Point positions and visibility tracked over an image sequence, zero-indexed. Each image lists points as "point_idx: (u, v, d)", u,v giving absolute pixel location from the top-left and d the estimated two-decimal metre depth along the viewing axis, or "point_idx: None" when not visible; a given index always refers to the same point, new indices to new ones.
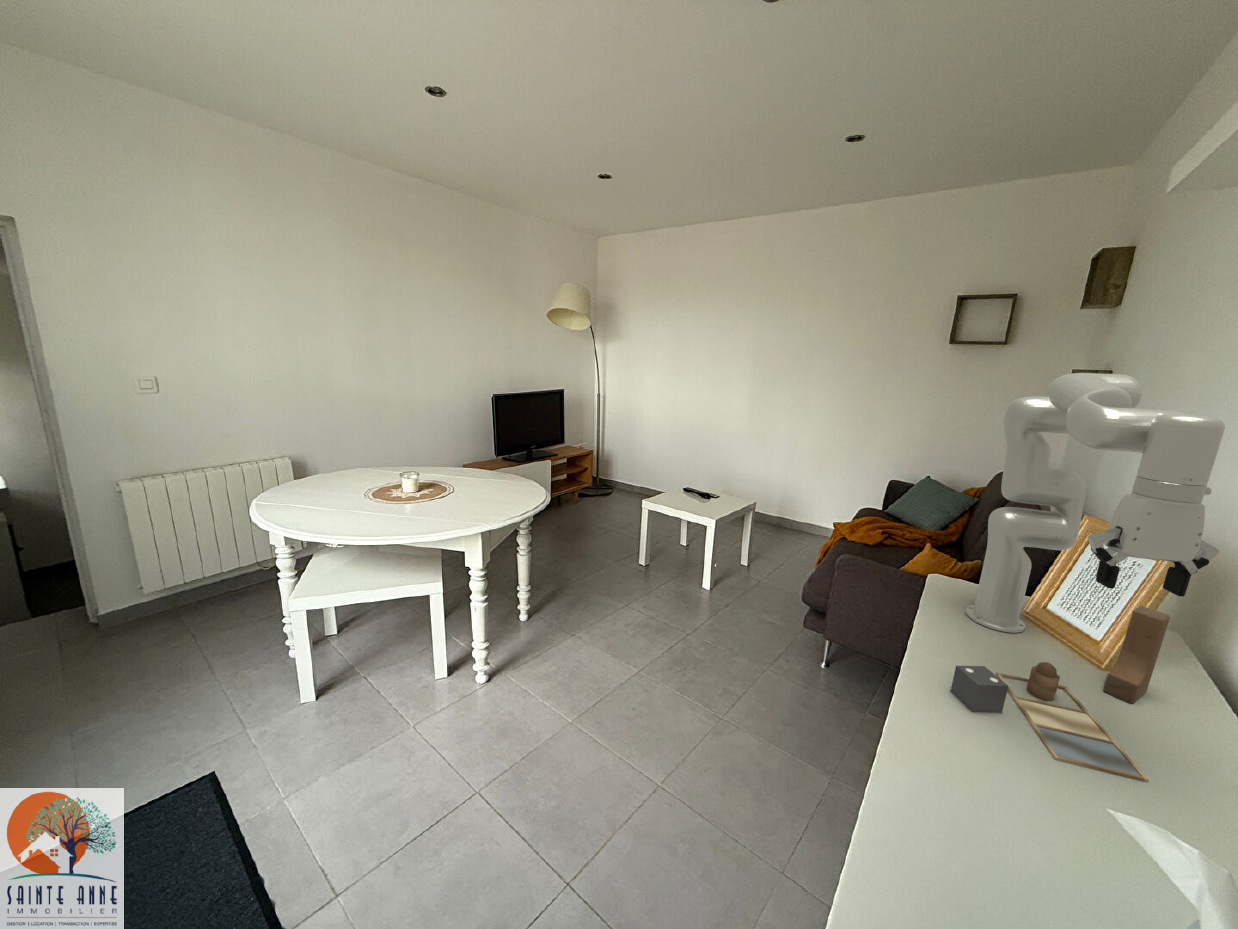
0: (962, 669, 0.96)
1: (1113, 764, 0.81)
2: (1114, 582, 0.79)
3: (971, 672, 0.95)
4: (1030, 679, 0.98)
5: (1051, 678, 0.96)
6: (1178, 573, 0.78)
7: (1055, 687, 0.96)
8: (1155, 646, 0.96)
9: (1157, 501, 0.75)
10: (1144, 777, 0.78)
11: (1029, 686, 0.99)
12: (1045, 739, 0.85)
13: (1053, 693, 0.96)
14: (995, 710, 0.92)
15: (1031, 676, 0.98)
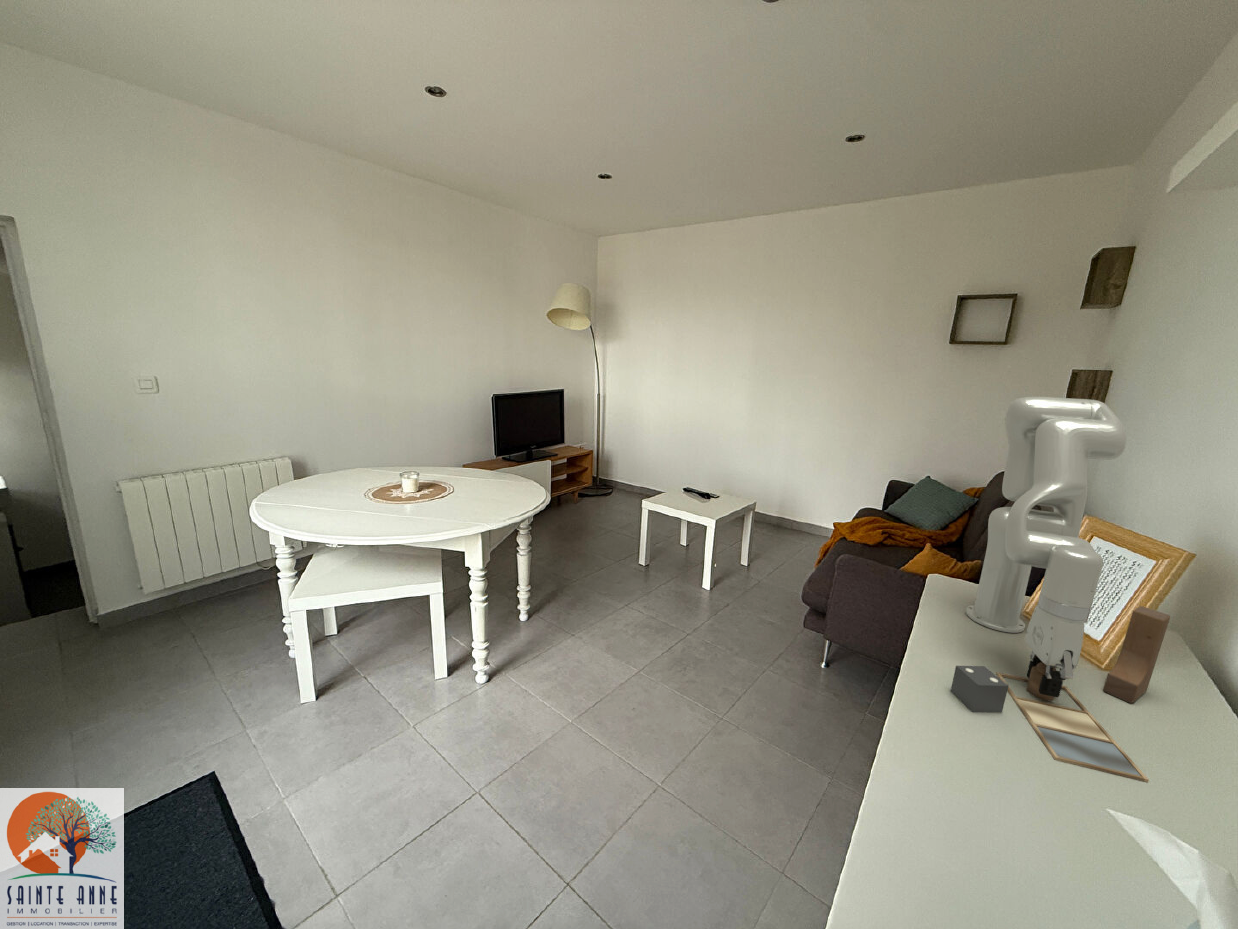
0: (962, 669, 0.96)
1: (1113, 764, 0.81)
2: None
3: (971, 672, 0.95)
4: (1030, 679, 0.98)
5: None
6: None
7: None
8: (1155, 646, 0.96)
9: None
10: (1144, 777, 0.78)
11: (1029, 686, 0.99)
12: (1045, 739, 0.85)
13: None
14: (995, 710, 0.92)
15: (1031, 676, 0.98)
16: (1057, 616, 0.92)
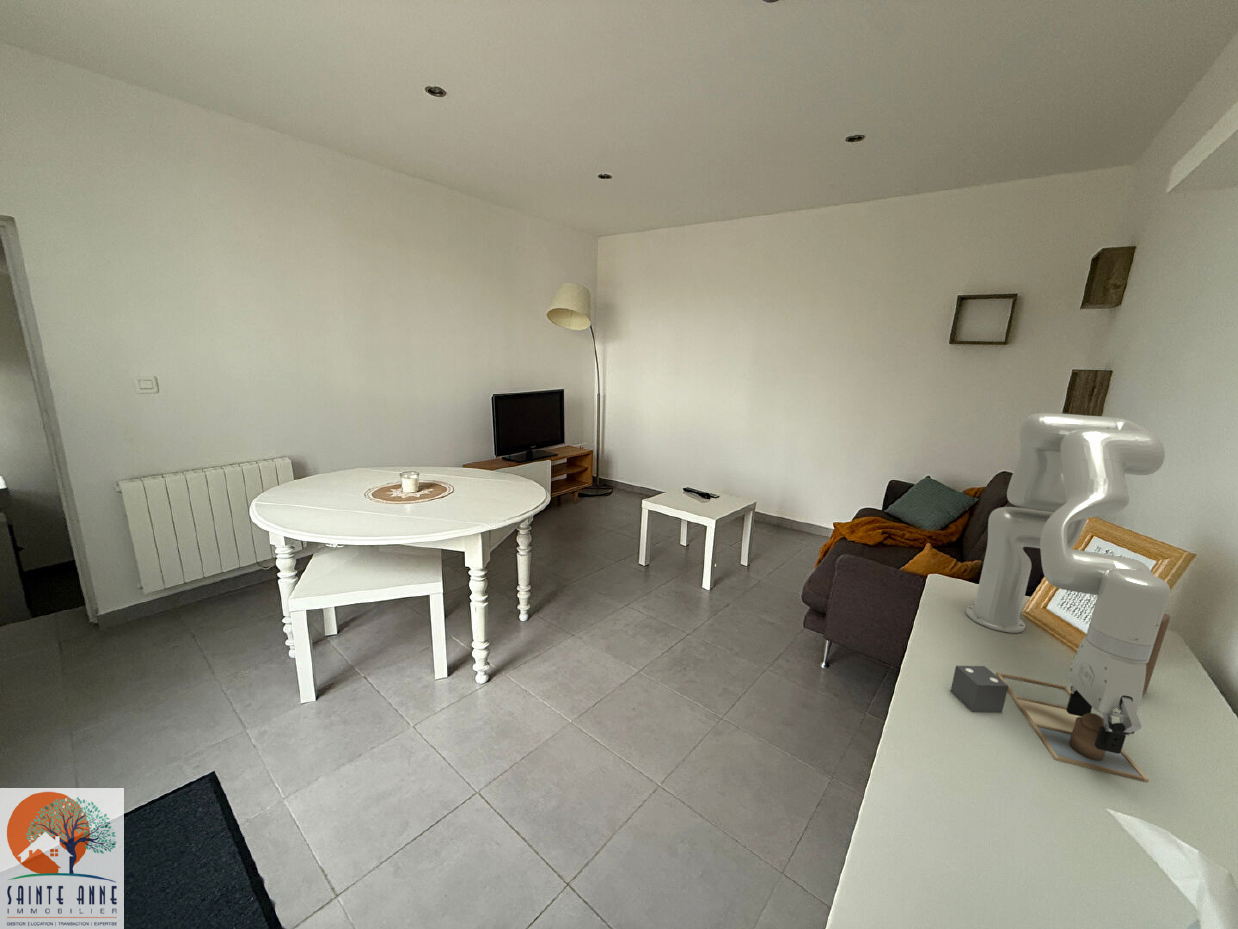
0: (962, 669, 0.96)
1: (1113, 764, 0.81)
2: (1120, 746, 0.78)
3: (971, 672, 0.95)
4: (1074, 733, 0.84)
5: None
6: (1086, 700, 0.85)
7: None
8: (1155, 646, 0.96)
9: (1145, 662, 0.76)
10: (1144, 777, 0.78)
11: (1073, 741, 0.84)
12: (1045, 739, 0.85)
13: (1103, 751, 0.81)
14: (995, 710, 0.92)
15: (1075, 729, 0.83)
16: (1112, 654, 0.77)
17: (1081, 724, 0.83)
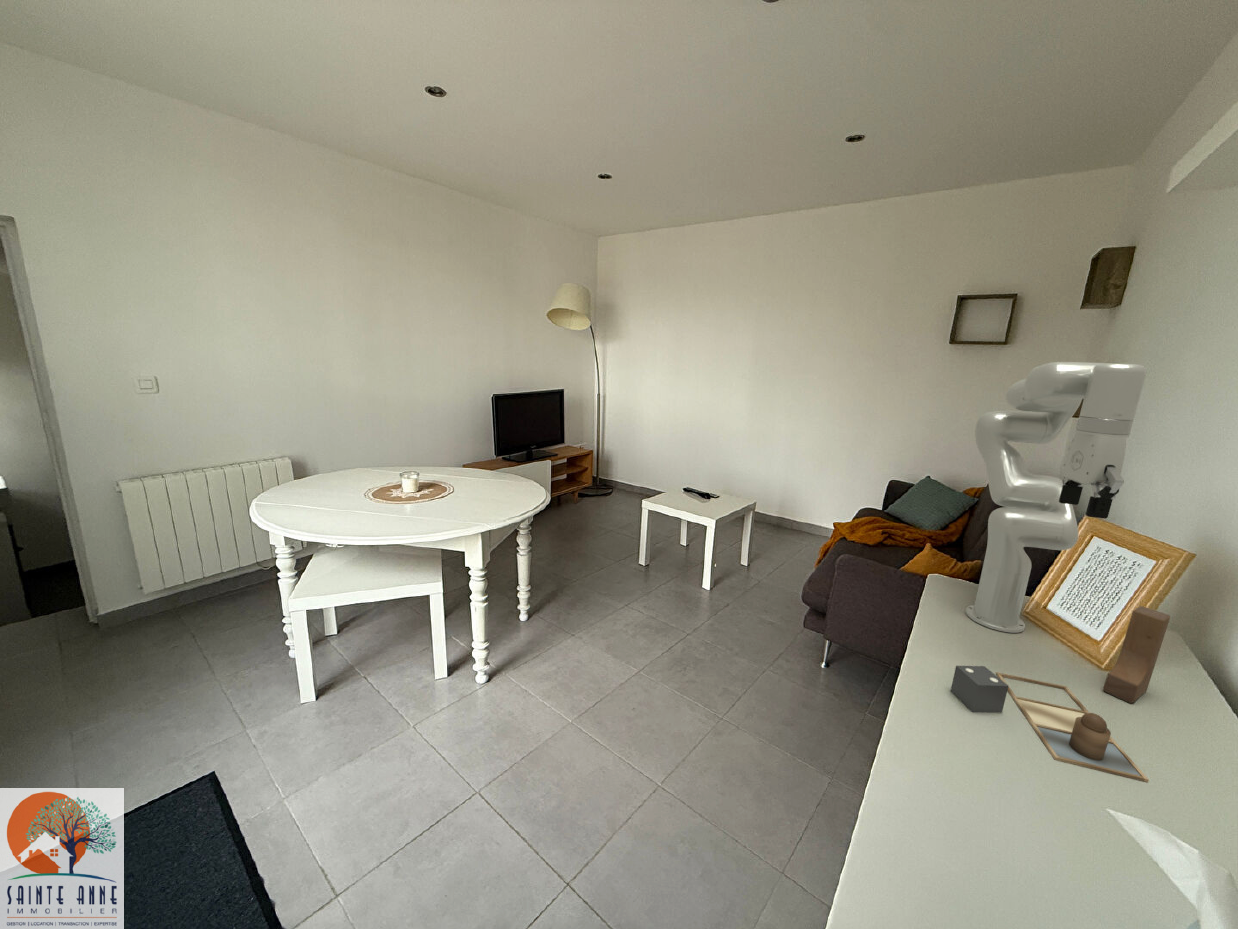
0: (962, 669, 0.96)
1: (1113, 764, 0.81)
2: None
3: (971, 672, 0.95)
4: (1074, 733, 0.84)
5: (1101, 734, 0.81)
6: (1075, 488, 1.00)
7: (1105, 744, 0.81)
8: (1155, 646, 0.96)
9: (1126, 437, 0.90)
10: (1144, 777, 0.78)
11: (1073, 741, 0.84)
12: (1045, 739, 0.85)
13: (1103, 751, 0.81)
14: (995, 710, 0.92)
15: (1075, 729, 0.83)
16: (1098, 432, 0.91)
17: (1081, 724, 0.83)
